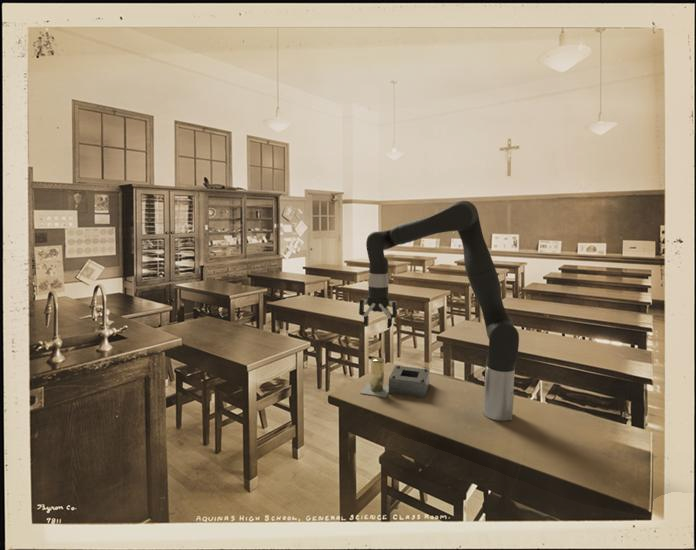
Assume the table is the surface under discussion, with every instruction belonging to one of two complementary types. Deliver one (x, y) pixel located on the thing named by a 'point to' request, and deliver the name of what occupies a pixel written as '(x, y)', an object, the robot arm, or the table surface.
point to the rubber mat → (368, 391)
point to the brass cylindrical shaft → (377, 374)
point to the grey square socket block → (409, 381)
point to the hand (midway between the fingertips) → (377, 326)
